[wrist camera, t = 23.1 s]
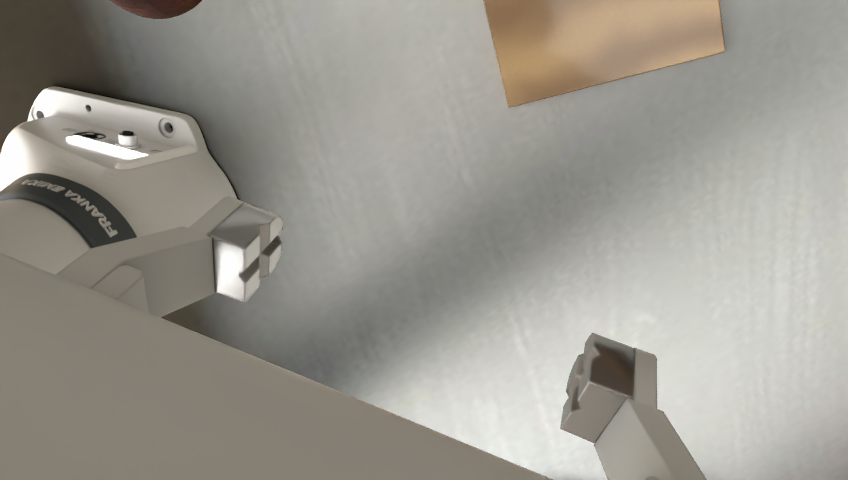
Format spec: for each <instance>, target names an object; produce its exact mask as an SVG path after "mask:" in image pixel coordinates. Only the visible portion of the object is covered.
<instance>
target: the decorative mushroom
mask: <svg viewBox="0 0 848 480" xmlns="http://www.w3.org/2000/svg"><path fill="white" fill-rule="evenodd" d="M110 1H112V2H113V3H115V4H116V5H118V6H120V7H121V8H123V9H125V10H127V11H129V12H131V13H133V14H136V15H138V16H142V17H146V18H153V19H165V18H171V17H175V16H178V15H181V14H184V13H186V12H188V11H189V10H191V9H193V8H194V7H195V6H197V5H198V4H199V3H200V2H201V1H202V0H110Z"/></svg>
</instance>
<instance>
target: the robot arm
mask: <svg viewBox="0 0 848 480" xmlns="http://www.w3.org/2000/svg"><path fill="white" fill-rule="evenodd" d="M170 123H171V124H172V126H173V130H172V129H171V128H170ZM282 230H283V219H282V218H281V217H280V216H279V215H276V214H274V213H271V212H269V211H266V210H264V209H261V208H259V207H256V206H254V205H251V204H249V203H245V202H243V201H240V200H238V199H237V197H236V195H235V192H234V190H233V188H232V186H231V184H230V182H229V181H228V179H227V177H226V176H225V174H224V173H223V171H222V170H221V169H220V167H219V166H218V165H217V164H216V162H215V161H214V160H213V158H212V157H211V155H210V154H209V152H208V150H207V147H206V144H205V141H204V138H203V135H202V133H201V130H200V128H199V126H198V124H197V122H196V121H195V120H194V119H193V118H192V117H191V116H189V115H187V114H184V113H179V112H174V111H170V110H165V109H160V108H156V107H151V106H146V105H142V104H137V103H132V102H128V101H123V100H118V99H114V98H109V97H104V96H100V95H95V94H90V93H85V92H81V91H76V90H71V89H67V88H62V87H54V86H53V87H50V88H46V89H44V90H43V91H42V92H41V93H40V94H39V95H38V97H37V98H36V100H35V101H34V104H33V106H32V108H31V111H30V113H29V117H28V121H27V122H25V123H22V124H20V125H18V126H17V127H15V128H14V129H13V130H12V131H11V132H10V133H9V135H8V136H7V138H6V140H5V142H4V144H3V147H2V151H1V155H0V480H553V479H551V478H548V477H546V476H543V475H541V474H538V473H536V472H533V471H531V470H529V469H526V468H524V467H521V466H519V465H516V464H514V463H512V462H509V461H507V460H504V459H502V458H499V457H497V456H494V455H492V454H490V453H487V452H485V451H482V450H480V449H478V448H475V447H473V446H470V445H468V444H465V443H463V442H461V441H458V440H456V439H453V438H451V437H449V436H446V435H444V434H441V433H439V432H436V431H434V430H432V429H429V428H427V427H424V426H422V425H419V424H417V423H415V422H412V421H410V420H407V419H405V418H403V417H400V416H398V415H395V414H393V413H390V412H388V411H386V410H383V409H381V408H378V407H376V406H373V405H371V404H369V403H366V402H364V401H361V400H359V399H356V398H354V397H352V396H349V395H347V394H344V393H342V392H339V391H337V390H335V389H332V388H330V387H327V386H325V385H322V384H320V383H318V382H315V381H313V380H310V379H308V378H305V377H303V376H301V375H298V374H296V373H293V372H291V371H288V370H286V369H283V368H281V367H279V366H276V365H274V364H271V363H269V362H267V361H264V360H262V359H259V358H257V357H254V356H252V355H250V354H247V353H245V352H242V351H240V350H237V349H235V348H233V347H230V346H228V345H225V344H223V343H220V342H218V341H216V340H213V339H211V338H208V337H206V336H203V335H201V334H199V333H196V332H194V331H191V330H189V329H186V328H184V327H182V326H179V325H177V324H174V323H172V322H169V321H167V320H165V319H162V318H160V317H162V316H164V315H167V314H169V313H171V312H173V311H176V310H178V309H180V308H183V307H185V306H187V305H189V304H192V303H194V302H196V301H199V300H201V299H203V298H205V297H208V296H210V295H212V294H215V292H217V293H220V294H223V295H225V296H228V297H231V298H234V299H236V300H239V301H242V302H244V303H245V302H246V301H247V300H248V299H249V298H250V297H251V295H252V294H253V293H254V292H255V291H256V290H257V289H258V287H259V282H260V278H263V277H266V276H269V275H270V273H271V272H272V271H273V270H274V269H275V267H276V265H277V263H278V261H279V259H280V255H281V251H282V241H281V240H280V238H279V236H278V234H279V233H280V232H281V231H282ZM566 392H567V394H568V396H569V398H568V400H567V401H566V403H565V405H564V407H563V414H562V421H561V427H560V429H562V430H565V431H567V432H569V433H572V434H574V435H576V436H579V437H581V438H583V439H586V440H588V441H590V442H593V443H595V444H594V446H595V448H596V451H597V453H598V456H599V458H600V461H601V463H602V466H603V468H604V471H605V473H606V476H607V478H608V480H707V479H706V478H705V476H704V474H703V473H702V471H701V470H700V468H699V467H698V465H697V464H696V462H695V460H694V459H693V457H692V456H691V454H690V453H689V451H688V450H687V448H686V446H685V445H684V443H683V442H682V440H681V439H680V437H679V435H678V434H677V432H676V431H675V429H674V428H673V426H672V425H671V423H670V421H669V420H668V418H667V417H666V415H665V414H664V412H663V411H660V410H658V409H657V358H656V356H655V355H654V354H651V353H648V352H645V351H642V350H639V349H637V348H632V347H630V346H627V345H625V344H622V343H619V342H616V341H614V340H611V339H608V338H606V337H603V336H600V335H597V334H595V333H592V334H591V335H590V336H589V338H588V340H587V341H586V343H585V349H584V353H583V354H581V355H578V357H577V359H576V361H575V363H574V365H573V368H572V370H571V373H570V376H569V379H568V384H567V389H566Z"/></svg>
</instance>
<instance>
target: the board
mask: <svg viewBox="0 0 848 480" xmlns="http://www.w3.org/2000/svg"><path fill="white" fill-rule="evenodd" d="M483 1H484V5H485V9H486V13H487V17H488V22H489V26H490V30H491V34H492V38H493V43H494V47H495V51H496V55H497V59H498V64H499V68H500V72H501V76H502V80H503V85H504V89H505V93H506V97H507V101H508V106H509V107H514V106H518V105H522V104H525V103H529V102H533V101H537V100H541V99H545V98H549V97H553V96H556V95H560V94H564V93H568V92H572V91H576V90H580V89H584V88H587V87H591V86H595V85H599V84H603V83H607V82H611V81H614V80H618V79H622V78H626V77H630V76H634V75H638V74H642V73H645V72H649V71H653V70H657V69H661V68H665V67H669V66H673V65H676V64H680V63H684V62H688V61H692V60H696V59H700V58H704V57H707V56H711V55H715V54H719V53H723V52H725V43H724V35H723V27H722V19H721V12H720V4H719V0H483Z"/></svg>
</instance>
